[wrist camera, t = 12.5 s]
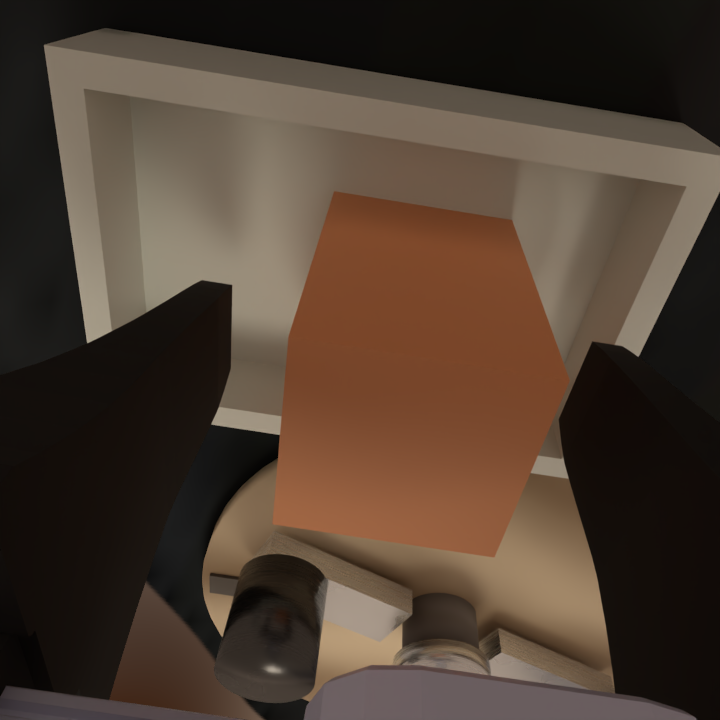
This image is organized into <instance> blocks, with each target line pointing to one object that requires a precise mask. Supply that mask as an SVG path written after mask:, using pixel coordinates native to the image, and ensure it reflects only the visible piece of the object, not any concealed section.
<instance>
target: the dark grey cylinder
mask: <svg viewBox="0 0 720 720" xmlns="http://www.w3.org/2000/svg"><path fill="white" fill-rule="evenodd" d="M411 615H412V590H411V589H408V588H406V587H404V586H401V585H399V584H397V583H395V582H392V581H390V580H388V579H385V578H383V577H381V576H378V575H376V574H374V573H372V572H369V571H367V570H365V569H362V568H360V567H358V566H355V565H353V564H351V563H348V562H346V561H344V560H342V559H339V558H337V557H335V556H332V555H330V554H328V553H325V552H323V551H321V550H319V549H316V548H314V547H312V546H309V545H307V544H305V543H302V542H300V541H298V540H295V539H293V538H291V537H289V536H286V535H284V534H282V533H279V532H277V531H275V530H274V532H273V533H272V534H271V535H270V537H269V538H268V539H267V540H266V542H265V543H264V544H263V545H262V547H261V548H260V549H259V550H258V551H257V553H256V554H255V555H254V556H253V558H252V559H251V560H250V561H248V562H247V563H246V564H245V565H244V566H243V568H242V569H241V572H240V575H239V579H238V582H237V586H236V590H235V593H234V597H233V601H232V604H231V608H230V612H229V615H228V619H227V623H226V626H225V630H224V634H223V637H222V641H221V645H220V648H219V652H218V655H217V659H216V663H215V667H214V673H215V676H216V678H217V680H218V681H219V682H220V683H221V684H222V685H223V686H224V687H225V688H226V689H228V690H230V691H231V692H233V693H235V694H237V695H239V696H242V697H244V698H247V699H251V700H255V701H260V702H268V703H283V702H290V701H295V700H298V699H301V698H303V697H305V696H306V695H308V694H309V693H310V692H311V691H312V690H313V688H314V685H315V679H316V672H317V664H318V657H319V649H320V641H321V634H322V626H323V619H324V620H326V621H329V622H331V623H334V624H336V625H339V626H341V627H344V628H346V629H349V630H351V631H354V632H356V633H359V634H361V635H364V636H366V637H368V638H371V639H373V640H376V641H378V642H381V641H382V640H383V639H384V638H385V637H386V636H388V635H389V634H390V633H391V632H392V631H394V630H395V629H396V628H397V627H398V626H399V625H401V624H402V623H403V622H404V621H405V620H407V619H408V618H409V617H410V616H411ZM393 665H421V666H428V667H435V668H442V669H449V670H456V671H463V672H470V673H477V674H484V675H490V676H497V677H504V678H511V679H518V680H525V681H532V682H539V683H546V684H553V685H559V686H566V687H573V688H580V689H587V690H594V691H601V692H608V693H615V690H614V687H613V683H612V679H611V676H609V675H606V674H604V673H602V672H600V671H597V670H595V669H593V668H590V667H588V666H586V665H583V664H581V663H579V662H577V661H574V660H572V659H570V658H567V657H565V656H563V655H560V654H558V653H556V652H553V651H551V650H549V649H547V648H544V647H542V646H540V645H537V644H535V643H533V642H530V641H528V640H526V639H524V638H521V637H519V636H517V635H514V634H512V633H510V632H507V631H505V630H503V629H501V628H497V629H496V630H494V631H493V632H491V633H490V634H489V635H487V636H486V637H485V638H483V639H482V640H480V641H479V649H478V648H476V647H474V646H472V645H470V644H468V643H465V642H461V641H457V640H451V639H427V640H421V641H417V642H414V643H411V644H409V645H407V646H405V647H403V648H402V649H400V650H399V651H398V652H397V654H396V655H395V657H394V659H393Z"/></svg>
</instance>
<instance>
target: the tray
mask: <svg viewBox="0 0 720 720" xmlns="http://www.w3.org/2000/svg"><path fill="white" fill-rule="evenodd" d="M44 50H45V56H46V63H47V70H48V77H49V84H50V91H51V98H52V104H53V111H54V118H55V125H56V132H57V139H58V146H59V152H60V159H61V166H62V173H63V180H64V187H65V194H66V200H67V207H68V214H69V221H70V228H71V235H72V242H73V248H74V255H75V262H76V269H77V276H78V283H79V290H80V297H81V303H82V310H83V317H84V324H85V331H86V338H87V343H89V342H91V341H93V340H96V339H97V338H99V337H101V336H103V335H105V334H107V333H109V332H111V331H113V330H115V329H117V328H119V327H121V326H123V325H125V324H127V323H128V322H130V321H132V320H134V319H136V318H138V317H140V316H141V315H143V314H145V313H146V312H148V311H150V310H151V309H153V308H155V307H157V306H158V305H160V304H162V303H163V302H165V301H167V300H168V299H170V298H172V297H173V296H175V295H177V294H178V293H180V292H181V291H183V290H185V289H186V288H188V287H190V286H192V285H193V284H195V283H197V282H199V281H201V280H205V281H211V282H217V283H224V284H230V285H232V332H231V370H230V373H229V376H228V380H227V383H226V386H225V390H224V393H223V396H222V399H221V402H220V405H219V408H218V410H217V413H216V415H215V417H214V419H213V421H212V423H211V424H212V425H218V426H225V427H231V428H238V429H245V430H251V431H258V432H264V433H271V434H278V435H280V429H281V418H282V406H283V394H284V383H285V371H286V359H287V348H288V336H289V333H290V330H291V327H292V324H293V320H294V317H295V314H296V311H297V308H298V305H299V301H300V298H301V295H302V292H303V289H304V285H305V282H306V279H307V276H308V273H309V270H310V266H311V263H312V260H313V257H314V254H315V250H316V247H317V244H318V241H319V238H320V235H321V231H322V228H323V225H324V222H325V219H326V216H327V212H328V209H329V206H330V203H331V200H332V196H333V193H334V191H336V192H342V193H348V194H355V195H361V196H367V197H373V198H379V199H385V200H392V201H398V202H404V203H410V204H416V205H422V206H428V207H435V208H441V209H447V210H453V211H459V212H465V213H472V214H478V215H484V216H490V217H496V218H502V219H509V220H512V221H513V224H514V227H515V229H516V232H517V235H518V238H519V241H520V243H521V246H522V249H523V252H524V254H525V257H526V260H527V263H528V266H529V268H530V271H531V274H532V277H533V279H534V282H535V285H536V288H537V291H538V293H539V296H540V299H541V302H542V304H543V307H544V310H545V313H546V316H547V318H548V321H549V324H550V327H551V329H552V332H553V335H554V338H555V341H556V343H557V346H558V349H559V352H560V354H561V357H562V360H563V363H564V365H565V368H566V371H567V374H568V377H569V379H570V382H569V384H568V386H567V389H566V391H565V393H564V396H563V398H562V400H561V403H560V405H559V407H558V410H557V412H556V414H555V417H554V419H553V421H552V424H551V426H550V429H549V431H548V433H547V436H546V438H545V440H544V443H543V445H542V447H541V450H540V452H539V454H538V457H537V459H536V461H535V464H534V466H533V468H532V471H531V473H534V474H541V475H547V476H554V477H560V478H567V479H569V478H568V474H567V471H566V467H565V463H564V458H563V452H562V445H561V437H560V428H559V417H560V415H561V412H562V410H563V408H564V406H565V403H566V401H567V399H568V396H569V394H570V392H571V389H572V387H573V385H574V382H575V380H576V378H577V375H578V373H579V371H580V368H581V366H582V364H583V361H584V359H585V357H586V354H587V352H588V350H589V347H590V345H591V343H592V341H594V342H600V343H606V344H613V345H619V346H623V347H625V348H626V349H628V350H629V351H631V352H632V353H634V354H635V355H636V356H638V357H639V355H640V353H641V351H642V349H643V346H644V344H645V342H646V340H647V338H648V336H649V334H650V332H651V330H652V328H653V326H654V324H655V322H656V320H657V318H658V316H659V314H660V312H661V310H662V308H663V306H664V304H665V302H666V300H667V298H668V296H669V294H670V292H671V290H672V288H673V286H674V284H675V282H676V279H677V277H678V275H679V273H680V271H681V269H682V267H683V265H684V263H685V261H686V259H687V257H688V255H689V253H690V251H691V249H692V247H693V245H694V243H695V241H696V239H697V237H698V235H699V233H700V231H701V229H702V227H703V225H704V223H705V221H706V219H707V217H708V214H709V212H710V210H711V208H712V206H713V204H714V202H715V200H716V198H717V196H718V194H719V192H720V147H718V146H717V145H715V144H714V143H712V142H711V141H709V140H708V139H706V138H705V137H703V136H702V135H700V134H699V133H697V132H696V131H694V130H693V129H691V128H690V127H688V126H687V125H685V124H684V123H680V122H674V121H667V120H661V119H655V118H649V117H643V116H637V115H631V114H625V113H619V112H613V111H607V110H601V109H595V108H589V107H583V106H577V105H570V104H564V103H558V102H552V101H546V100H540V99H534V98H528V97H522V96H516V95H510V94H504V93H498V92H492V91H486V90H479V89H473V88H467V87H461V86H455V85H449V84H443V83H437V82H431V81H425V80H419V79H413V78H407V77H401V76H395V75H389V74H382V73H376V72H370V71H364V70H358V69H352V68H346V67H340V66H334V65H328V64H322V63H316V62H310V61H304V60H298V59H291V58H285V57H279V56H273V55H267V54H261V53H255V52H249V51H243V50H237V49H231V48H225V47H219V46H213V45H207V44H201V43H194V42H188V41H182V40H176V39H170V38H164V37H158V36H152V35H146V34H140V33H134V32H128V31H122V30H116V29H110V28H103V29H99V30H96V31H92V32H89V33H85V34H81V35H78V36H74V37H71V38H67V39H63V40H60V41H56V42H52V43H49V44H45V45H44Z"/></svg>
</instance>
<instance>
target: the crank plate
mask: <svg viewBox="0 0 720 720" xmlns="http://www.w3.org/2000/svg"><path fill="white" fill-rule="evenodd" d="M277 464H278V458H277V459H276V460H274V461H273V462H271V463H269V464H268V465H266V466H265V467H263V468H262V469H261V470H259V471H258V472H257V473H256V474H255V475H254V476H252V477H251V478H250V479H249V480H248V481H247V482H245V483H244V484H243V485H242V486H241V487H240V489H239V490H238V491H237V492H236V493H235V495H234V496H233V497H232V498H231V499H230V501H229V502H228V503H227V504H226V506H225V508H224V510H223V512H222V513H221V515H220V517H219V519H218V521H217V522H216V525H215V528H214V531H213V534H212V537H211V540H210V543H209V546H208V549H207V552H206V556H205V559H204V564H203V575H202V584H203V592H204V599H205V602H206V605H207V608H208V611H209V614H210V617H211V619H212V620H213V622H214V624H215V626H216V628H217V629H218V631H219V633H220V634H221V636H222V637H223V634H224V630H225V626H226V623H227V619H228V615H229V612H230V608H231V604H232V601H233V597H234V593H235V590H236V586H237V582H238V579H239V575H240V572H241V569H242V568H243V566H244V565H245V564H246V563H247V562H248V561H250V560H251V559H252V558H253V556H254V555H255V554H256V553H257V551H258V550H259V549H260V548H261V547H262V545H263V544H264V543H265V542H266V540H267V539H268V538H269V537H270V535H271V534H272V533H273V532H274V530H275V531H277V532H279V533H282V534H284V535H286V536H289V537H291V538H293V539H295V540H298V541H300V542H302V543H305V544H307V545H309V546H312V547H314V548H316V549H319V550H321V551H323V552H325V553H328V554H330V555H332V556H335V557H337V558H339V559H342V560H344V561H346V562H348V563H351V564H353V565H355V566H358V567H360V568H362V569H365V570H367V571H369V572H372V573H374V574H376V575H378V576H381V577H383V578H385V579H388V580H390V581H392V582H395V583H397V584H399V585H401V586H404V587H406V588H408V589H411V590H412V615H411V616H410V617H409V618H408V619H407V620H405V621H404V622H403V623H402V624H401V625H399V626H398V627H397V628H396V629H395V630H394V631H392V632H391V633H390V634H389V635H388V636H386V637H385V638H384V639H383V640H382V641H381V642H378V641H376V640H373V639H371V638H368V637H366V636H364V635H361V634H359V633H356V632H354V631H351V630H349V629H346V628H344V627H341V626H339V625H336V624H334V623H331V622H329V621H326V620H324V619H323V626H322V634H321V641H320V649H319V657H318V664H317V672H316V679H315V685H314V688H313V690H312V691H311V692H310V693H309V694H308V695H306V696H305V697H303V698H302V699H305V700H307V701H309V702H310V701H311V700H312V699H313V697H314V696H315V695H316V694H317V692H318V691H319V690H320V689H321V687H322V686H323V685H324V684H325V683H326V682H328V681H329V680H331V679H332V678H334V677H337V676H340V675H343V674H346V673H349V672H352V671H355V670H358V669H361V668H364V667H367V666H370V665H393V659H394V657H395V655H396V654H397V652H398V651H399V650H400V649H402V648H403V647H405V646H407V645H409V644H411V643H414V642H417V641H421V640H427V639H451V640H457V641H461V642H465V643H468V644H470V645H472V646H474V647H476V648H478V649H479V641H480V640H482V639H483V638H485V637H486V636H487V635H489V634H490V633H491V632H493V631H494V630H496V629H497V628H501V629H503V630H505V631H507V632H510V633H512V634H514V635H517V636H519V637H521V638H524V639H526V640H528V641H530V642H533V643H535V644H537V645H540V646H542V647H544V648H547V649H549V650H551V651H553V652H556V653H558V654H560V655H563V656H565V657H567V658H570V659H572V660H574V661H577V662H579V663H581V664H583V665H586V666H588V667H590V668H593V669H595V670H597V671H600V672H602V673H604V674H606V675H609V676H611V679H612V683H613V687H614V680H613V672H612V665H611V658H610V652H609V645H608V638H607V631H606V624H605V619H604V613H603V607H602V602H601V596H600V590H599V585H598V579H597V575H596V571H595V567H594V563H593V559H592V555H591V552H590V549H589V545H588V542H587V539H586V535H585V532H584V529H583V525H582V522H581V519H580V515H579V512H578V509H577V505H576V502H575V499H574V495H573V492H572V488H571V485H570V481H569V479H567V478H560V477H554V476H547V475H541V474H534V473H530V475H529V478H528V480H527V482H526V485H525V487H524V489H523V492H522V494H521V496H520V499H519V501H518V503H517V506H516V508H515V510H514V513H513V515H512V518H511V520H510V522H509V525H508V527H507V529H506V532H505V534H504V536H503V539H502V541H501V543H500V546H499V548H498V550H497V553H496V555H495V557H487V556H480V555H474V554H467V553H460V552H454V551H447V550H440V549H434V548H427V547H420V546H414V545H407V544H400V543H394V542H387V541H380V540H374V539H367V538H360V537H354V536H347V535H340V534H334V533H327V532H320V531H314V530H307V529H300V528H294V527H287V526H280V525H274V524H272V522H273V511H274V499H275V488H276V476H277ZM614 690H615V689H614Z"/></svg>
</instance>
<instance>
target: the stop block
mask: <svg viewBox="0 0 720 720" xmlns="http://www.w3.org/2000/svg"><path fill="white" fill-rule="evenodd" d="M569 382H570V379H569V377H568V374H567V371H566V368H565V365H564V363H563V360H562V357H561V354H560V352H559V349H558V346H557V343H556V341H555V338H554V335H553V332H552V329H551V327H550V324H549V321H548V318H547V316H546V313H545V310H544V307H543V304H542V302H541V299H540V296H539V293H538V291H537V288H536V285H535V282H534V279H533V277H532V274H531V271H530V268H529V266H528V263H527V260H526V257H525V254H524V252H523V249H522V246H521V243H520V241H519V238H518V235H517V232H516V229H515V227H514V224H513V221H512V220H509V219H502V218H496V217H490V216H484V215H478V214H472V213H465V212H459V211H453V210H447V209H441V208H435V207H428V206H422V205H416V204H410V203H404V202H398V201H392V200H385V199H379V198H373V197H367V196H361V195H355V194H348V193H342V192H336V191H334V193H333V196H332V200H331V203H330V206H329V209H328V212H327V216H326V219H325V222H324V225H323V228H322V231H321V235H320V238H319V241H318V244H317V247H316V250H315V254H314V257H313V260H312V263H311V266H310V270H309V273H308V276H307V279H306V282H305V285H304V289H303V292H302V295H301V298H300V301H299V305H298V308H297V311H296V314H295V317H294V320H293V324H292V327H291V330H290V333H289V336H288V348H287V359H286V371H285V383H284V394H283V406H282V418H281V429H280V441H279V453H278V464H277V476H276V488H275V499H274V511H273V522H272V524H274V525H280V526H287V527H294V528H300V529H307V530H314V531H320V532H327V533H334V534H340V535H347V536H354V537H360V538H367V539H374V540H380V541H387V542H394V543H400V544H407V545H414V546H420V547H427V548H434V549H440V550H447V551H454V552H460V553H467V554H474V555H480V556H487V557H495V555H496V553H497V550H498V548H499V546H500V543H501V541H502V539H503V536H504V534H505V532H506V529H507V527H508V525H509V522H510V520H511V518H512V515H513V513H514V510H515V508H516V506H517V503H518V501H519V499H520V496H521V494H522V492H523V489H524V487H525V485H526V482H527V480H528V478H529V475H530V473H531V471H532V468H533V466H534V464H535V461H536V459H537V457H538V454H539V452H540V450H541V447H542V445H543V443H544V440H545V438H546V436H547V433H548V431H549V429H550V426H551V424H552V421H553V419H554V417H555V414H556V412H557V410H558V407H559V405H560V403H561V400H562V398H563V396H564V393H565V391H566V389H567V386H568V384H569Z"/></svg>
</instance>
